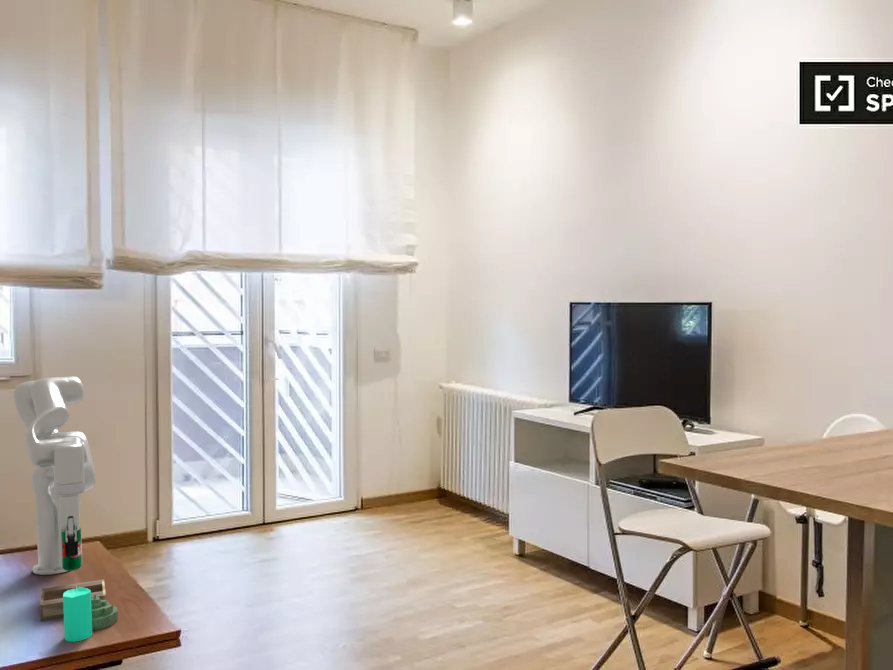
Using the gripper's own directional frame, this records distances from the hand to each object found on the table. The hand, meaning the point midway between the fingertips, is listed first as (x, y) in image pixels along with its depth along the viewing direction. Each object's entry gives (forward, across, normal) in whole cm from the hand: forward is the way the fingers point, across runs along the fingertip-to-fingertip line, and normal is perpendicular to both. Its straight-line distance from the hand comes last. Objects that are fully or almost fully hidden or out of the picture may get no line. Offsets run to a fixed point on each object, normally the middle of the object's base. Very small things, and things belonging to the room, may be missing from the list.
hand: (71, 551), depth 224 cm
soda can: (+5, 0, 0) cm, 5 cm away
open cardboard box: (+9, +17, 0) cm, 19 cm away
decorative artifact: (+9, +31, +5) cm, 33 cm away
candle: (+8, +39, +1) cm, 40 cm away
